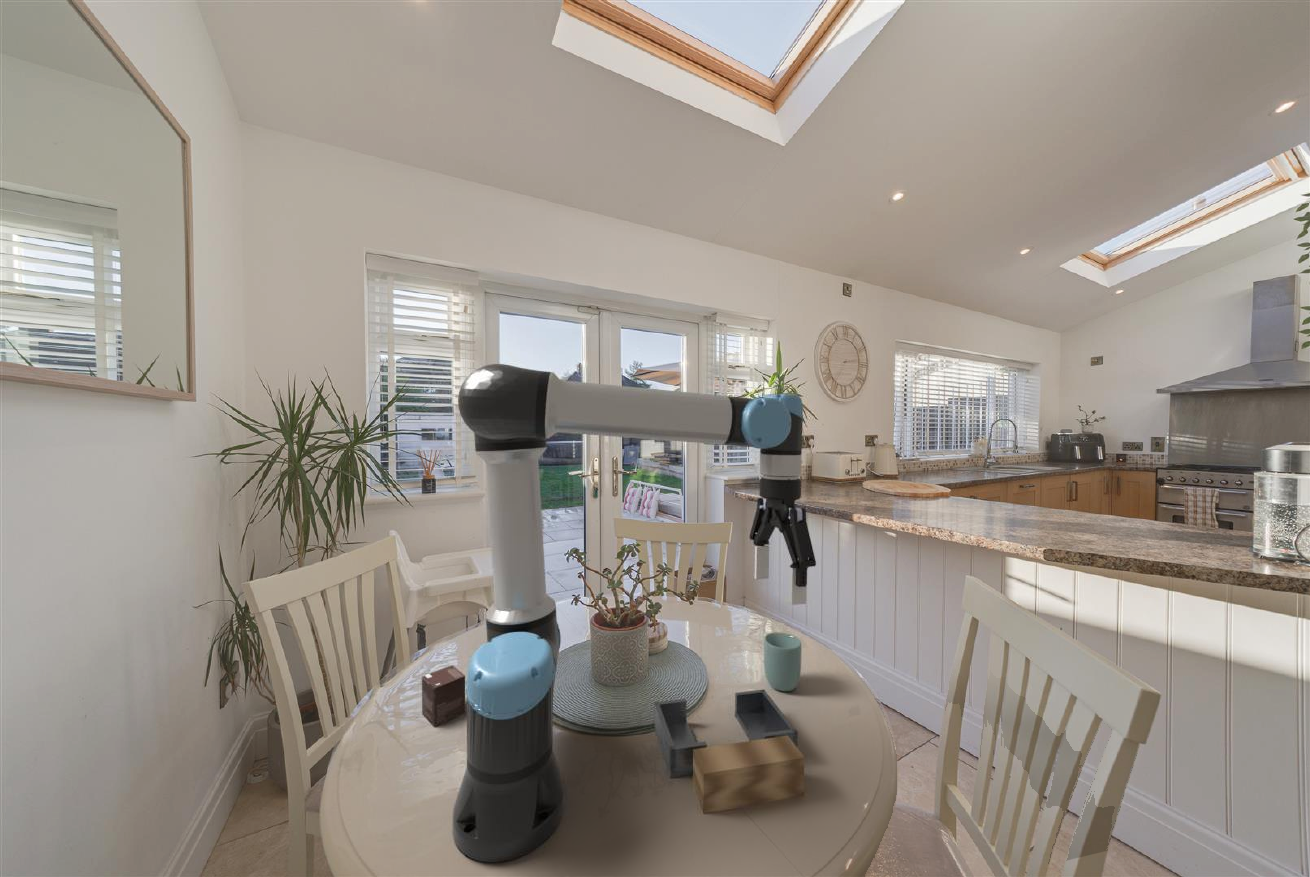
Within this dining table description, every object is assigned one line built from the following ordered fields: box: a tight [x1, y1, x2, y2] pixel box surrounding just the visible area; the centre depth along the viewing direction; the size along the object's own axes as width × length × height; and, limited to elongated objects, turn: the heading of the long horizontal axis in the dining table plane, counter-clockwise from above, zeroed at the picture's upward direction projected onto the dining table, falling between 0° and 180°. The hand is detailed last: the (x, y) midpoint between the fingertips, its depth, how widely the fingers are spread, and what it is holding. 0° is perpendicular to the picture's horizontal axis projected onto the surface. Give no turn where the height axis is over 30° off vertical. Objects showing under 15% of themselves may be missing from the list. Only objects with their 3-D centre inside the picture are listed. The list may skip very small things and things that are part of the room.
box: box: [421, 664, 466, 727], centre depth 86 cm, size 6×6×7 cm
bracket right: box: [734, 689, 799, 748], centre depth 81 cm, size 6×13×4 cm, turn 12°
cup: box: [763, 631, 803, 692], centre depth 97 cm, size 8×8×10 cm
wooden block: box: [692, 735, 805, 814], centre depth 68 cm, size 16×5×6 cm, turn 102°
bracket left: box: [653, 698, 708, 779], centre depth 77 cm, size 6×13×4 cm, turn 12°
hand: (778, 590), depth 84 cm, fingers open, 13 cm apart
